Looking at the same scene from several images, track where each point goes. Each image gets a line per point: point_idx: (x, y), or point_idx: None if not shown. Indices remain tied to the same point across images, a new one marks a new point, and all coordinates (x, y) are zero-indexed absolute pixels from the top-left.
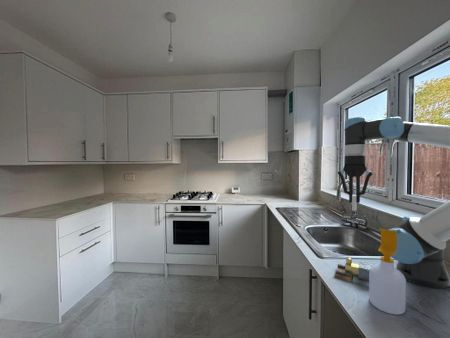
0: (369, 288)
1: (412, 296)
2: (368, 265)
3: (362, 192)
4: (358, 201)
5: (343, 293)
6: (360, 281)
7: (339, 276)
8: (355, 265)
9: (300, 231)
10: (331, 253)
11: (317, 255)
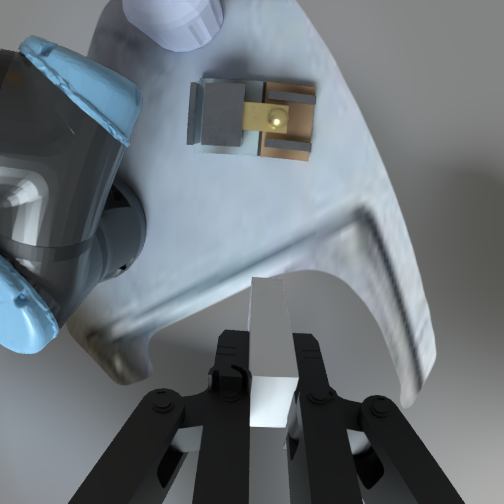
0: (219, 4)
1: None
2: (213, 116)
3: (167, 411)
4: (228, 341)
5: (284, 17)
6: (241, 80)
7: (301, 85)
8: (255, 116)
9: (408, 382)
10: (328, 264)
11: (372, 225)
